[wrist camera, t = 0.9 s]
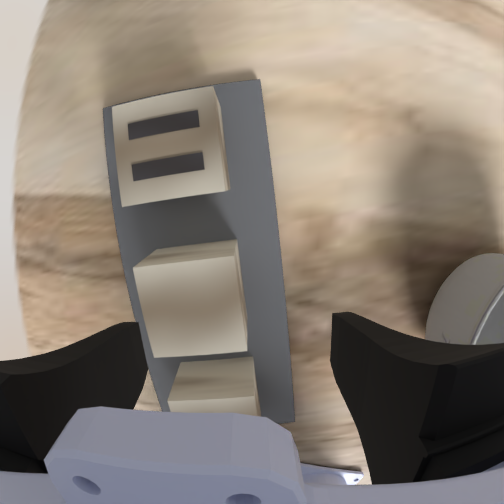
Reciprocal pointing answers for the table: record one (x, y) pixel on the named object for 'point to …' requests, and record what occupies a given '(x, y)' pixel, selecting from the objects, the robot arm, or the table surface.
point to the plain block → (193, 299)
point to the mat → (221, 229)
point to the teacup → (470, 304)
